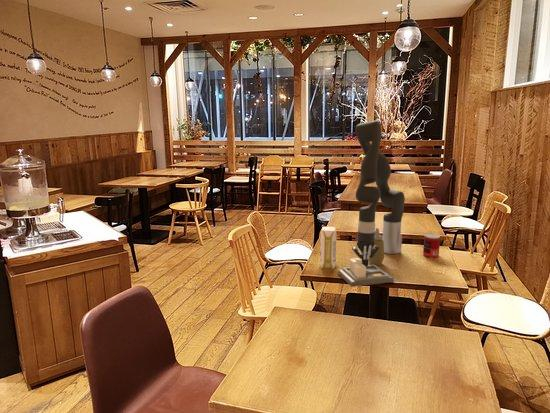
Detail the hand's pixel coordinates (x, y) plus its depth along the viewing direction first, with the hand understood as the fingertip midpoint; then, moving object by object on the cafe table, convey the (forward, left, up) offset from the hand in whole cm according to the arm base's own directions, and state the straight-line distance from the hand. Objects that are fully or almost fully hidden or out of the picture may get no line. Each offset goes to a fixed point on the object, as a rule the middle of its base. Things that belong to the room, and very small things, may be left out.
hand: (364, 266), depth 191 cm
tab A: (+4, 0, -2) cm, 5 cm away
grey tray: (+1, +3, -4) cm, 5 cm away
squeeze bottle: (-12, -12, -4) cm, 17 cm away
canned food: (-45, -15, -4) cm, 47 cm away
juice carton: (+12, -15, -4) cm, 20 cm away
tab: (+6, +7, -2) cm, 9 cm away
